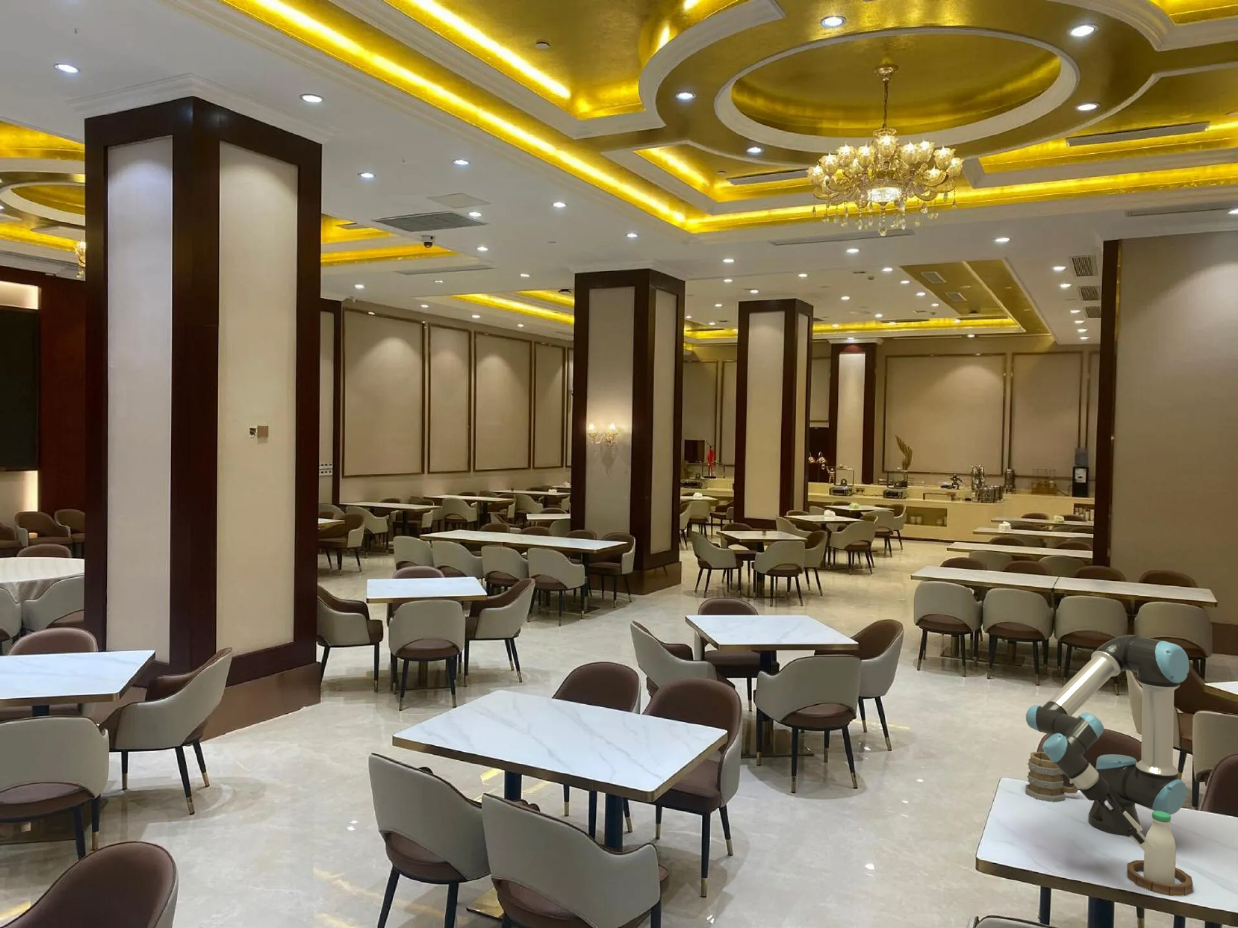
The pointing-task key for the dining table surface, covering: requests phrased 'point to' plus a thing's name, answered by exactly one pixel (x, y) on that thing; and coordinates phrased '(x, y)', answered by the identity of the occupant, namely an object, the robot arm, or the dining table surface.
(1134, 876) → the walnut ring
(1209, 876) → the dining table surface
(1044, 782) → the tankard
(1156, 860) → the milk bottle
